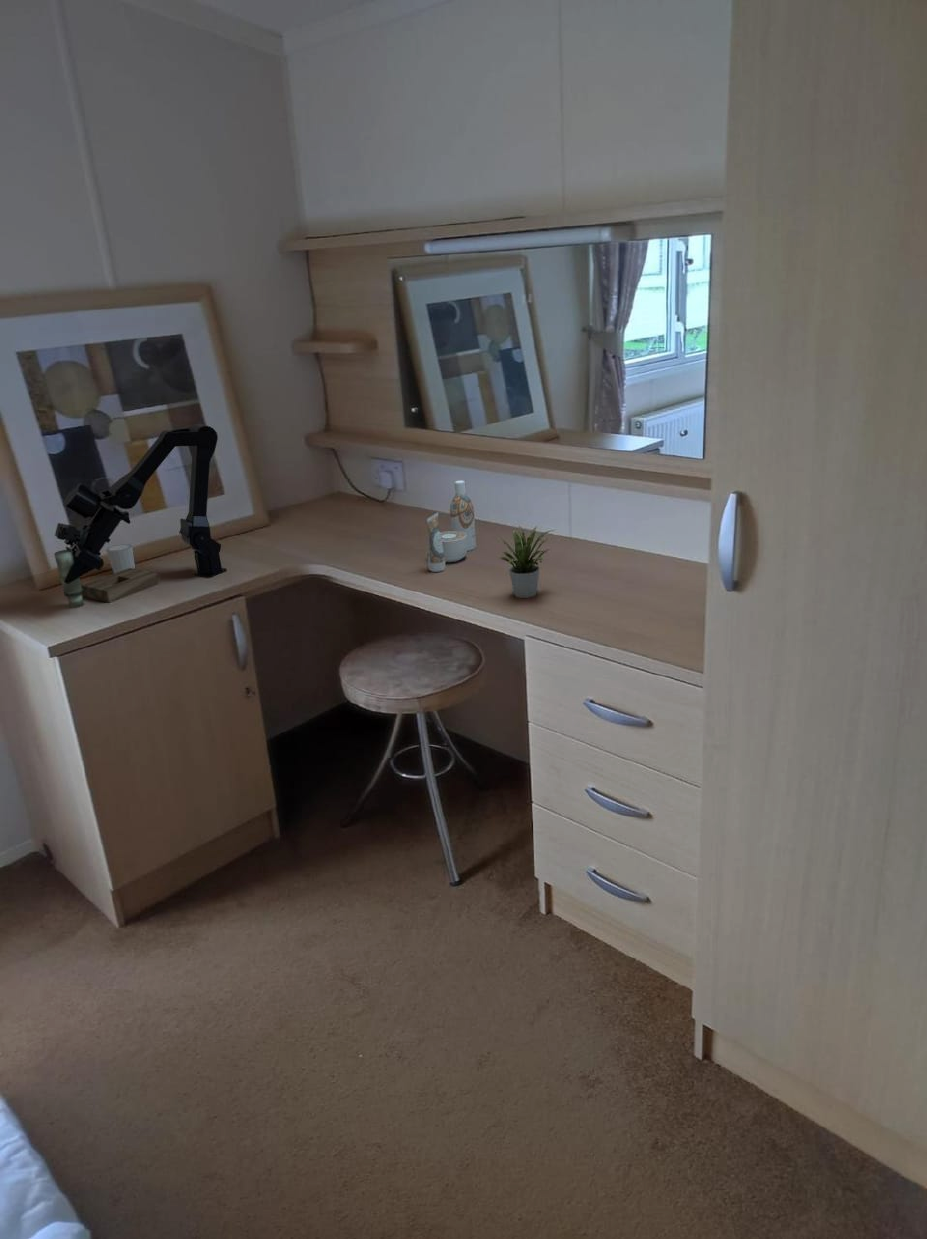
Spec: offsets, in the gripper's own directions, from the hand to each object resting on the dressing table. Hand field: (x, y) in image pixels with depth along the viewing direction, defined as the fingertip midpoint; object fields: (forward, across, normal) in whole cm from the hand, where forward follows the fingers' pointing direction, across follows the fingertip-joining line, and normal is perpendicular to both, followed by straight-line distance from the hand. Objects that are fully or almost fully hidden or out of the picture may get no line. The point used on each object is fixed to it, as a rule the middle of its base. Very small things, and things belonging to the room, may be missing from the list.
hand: (64, 580), depth 218 cm
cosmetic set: (-59, +35, +69) cm, 97 cm away
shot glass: (-7, -20, +18) cm, 28 cm away
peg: (+4, 0, +6) cm, 7 cm away
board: (-4, -4, +14) cm, 16 cm away
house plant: (-58, +71, +69) cm, 115 cm away
